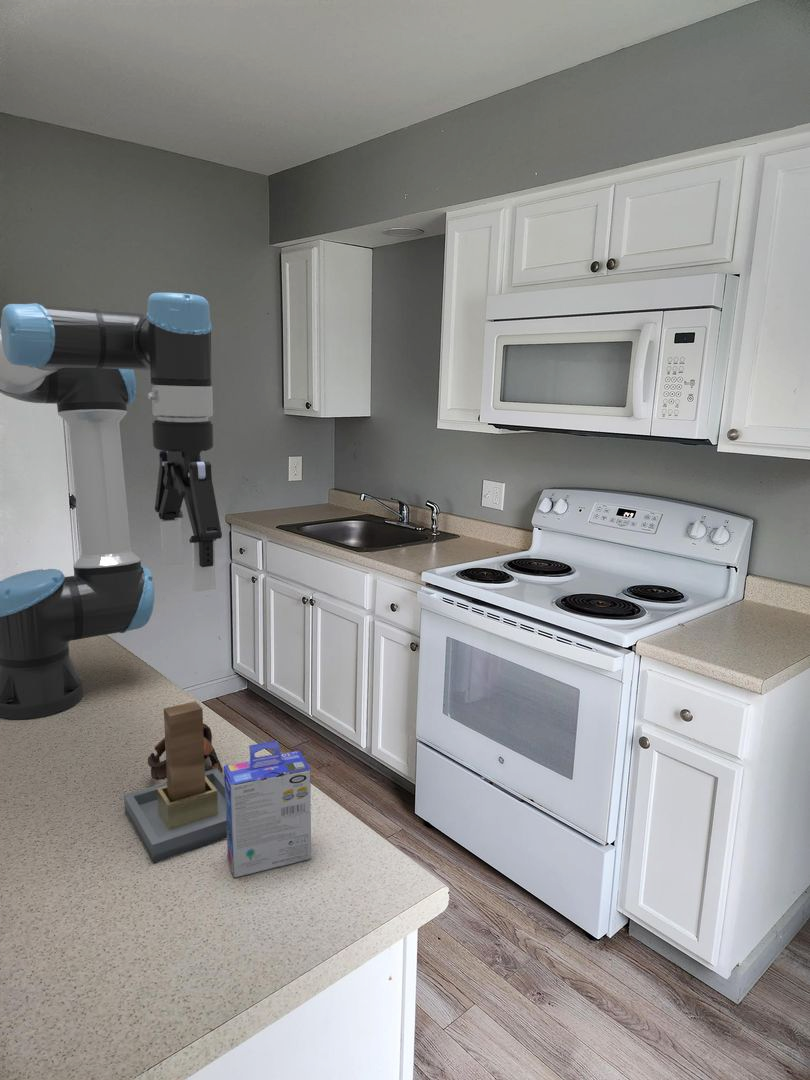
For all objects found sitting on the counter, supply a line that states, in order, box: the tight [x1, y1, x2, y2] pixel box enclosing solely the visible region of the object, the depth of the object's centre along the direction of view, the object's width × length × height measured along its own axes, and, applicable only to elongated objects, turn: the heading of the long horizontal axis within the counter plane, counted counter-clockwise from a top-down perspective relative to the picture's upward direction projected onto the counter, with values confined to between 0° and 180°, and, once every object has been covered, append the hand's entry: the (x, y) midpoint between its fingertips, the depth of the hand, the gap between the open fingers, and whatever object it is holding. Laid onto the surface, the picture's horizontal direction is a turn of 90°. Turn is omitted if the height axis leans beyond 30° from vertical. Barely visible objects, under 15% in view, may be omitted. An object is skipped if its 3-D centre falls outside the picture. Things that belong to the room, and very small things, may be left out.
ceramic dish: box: [123, 768, 227, 864], centre depth 97 cm, size 13×13×2 cm
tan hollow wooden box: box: [157, 776, 218, 830], centre depth 97 cm, size 5×6×4 cm
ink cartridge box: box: [223, 740, 312, 878], centre depth 89 cm, size 10×6×14 cm, turn 114°
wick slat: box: [163, 700, 206, 802], centre depth 96 cm, size 3×4×15 cm, turn 125°
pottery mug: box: [147, 723, 224, 781], centre depth 108 cm, size 12×10×8 cm
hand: (187, 576), depth 99 cm, fingers open, 13 cm apart
